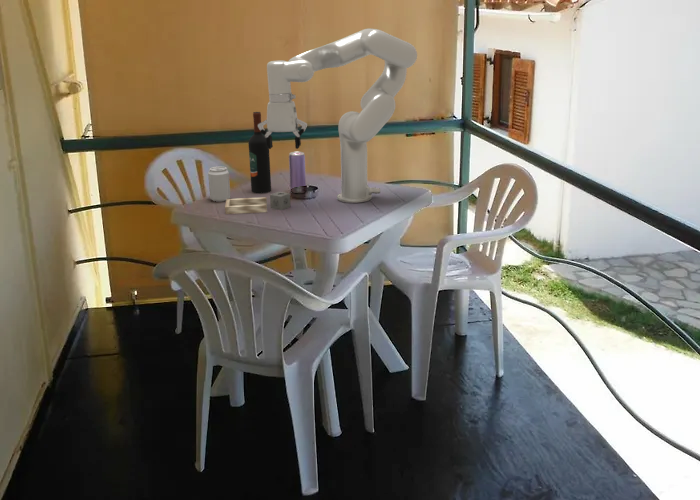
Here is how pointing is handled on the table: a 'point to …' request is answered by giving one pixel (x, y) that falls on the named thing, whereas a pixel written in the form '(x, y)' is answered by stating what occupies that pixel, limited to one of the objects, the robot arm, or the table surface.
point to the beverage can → (297, 169)
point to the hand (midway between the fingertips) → (284, 148)
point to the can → (219, 184)
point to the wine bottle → (259, 159)
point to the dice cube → (280, 200)
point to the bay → (246, 205)
